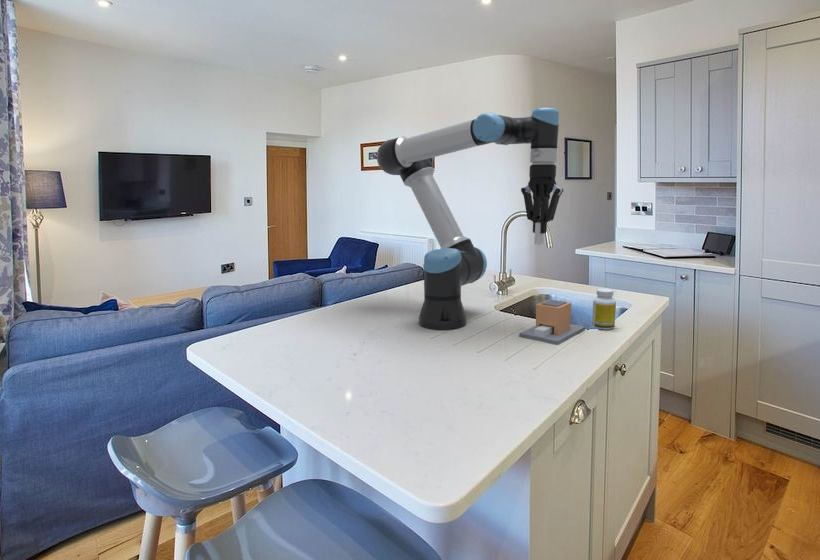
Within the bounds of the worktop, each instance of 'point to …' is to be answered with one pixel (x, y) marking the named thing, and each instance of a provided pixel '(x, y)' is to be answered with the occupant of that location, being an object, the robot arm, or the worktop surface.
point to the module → (554, 315)
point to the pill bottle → (604, 310)
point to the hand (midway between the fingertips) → (538, 244)
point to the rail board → (551, 333)
